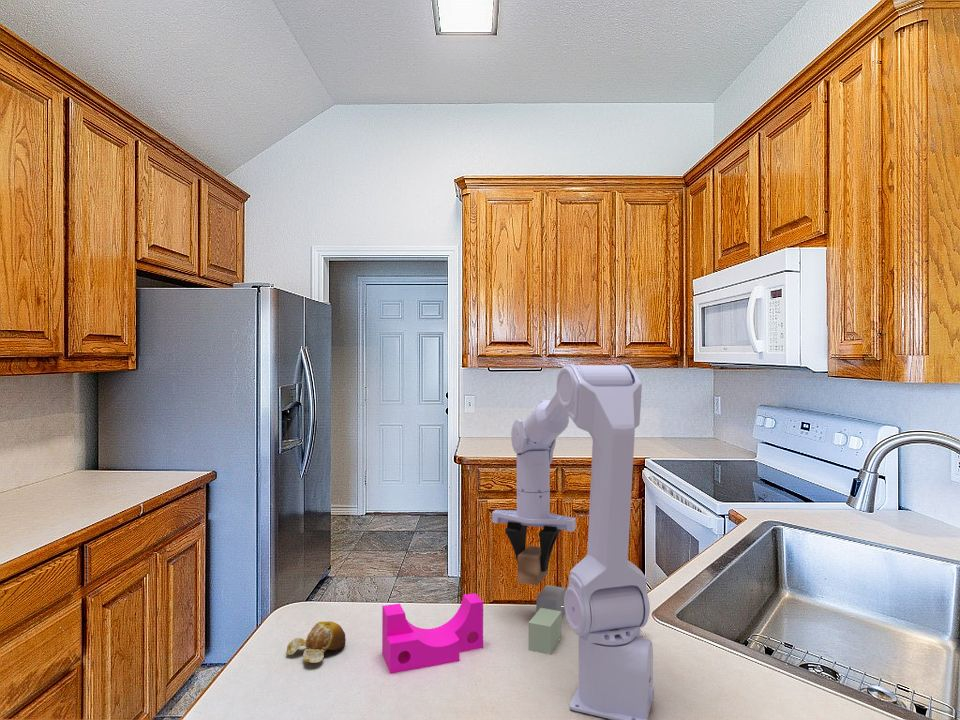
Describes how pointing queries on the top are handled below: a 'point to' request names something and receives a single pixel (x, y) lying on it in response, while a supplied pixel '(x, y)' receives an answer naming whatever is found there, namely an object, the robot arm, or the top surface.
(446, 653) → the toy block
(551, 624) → the sage brick
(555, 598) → the slate brick
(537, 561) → the walnut brick
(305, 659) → the fruit
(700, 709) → the top surface
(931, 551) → the top surface
